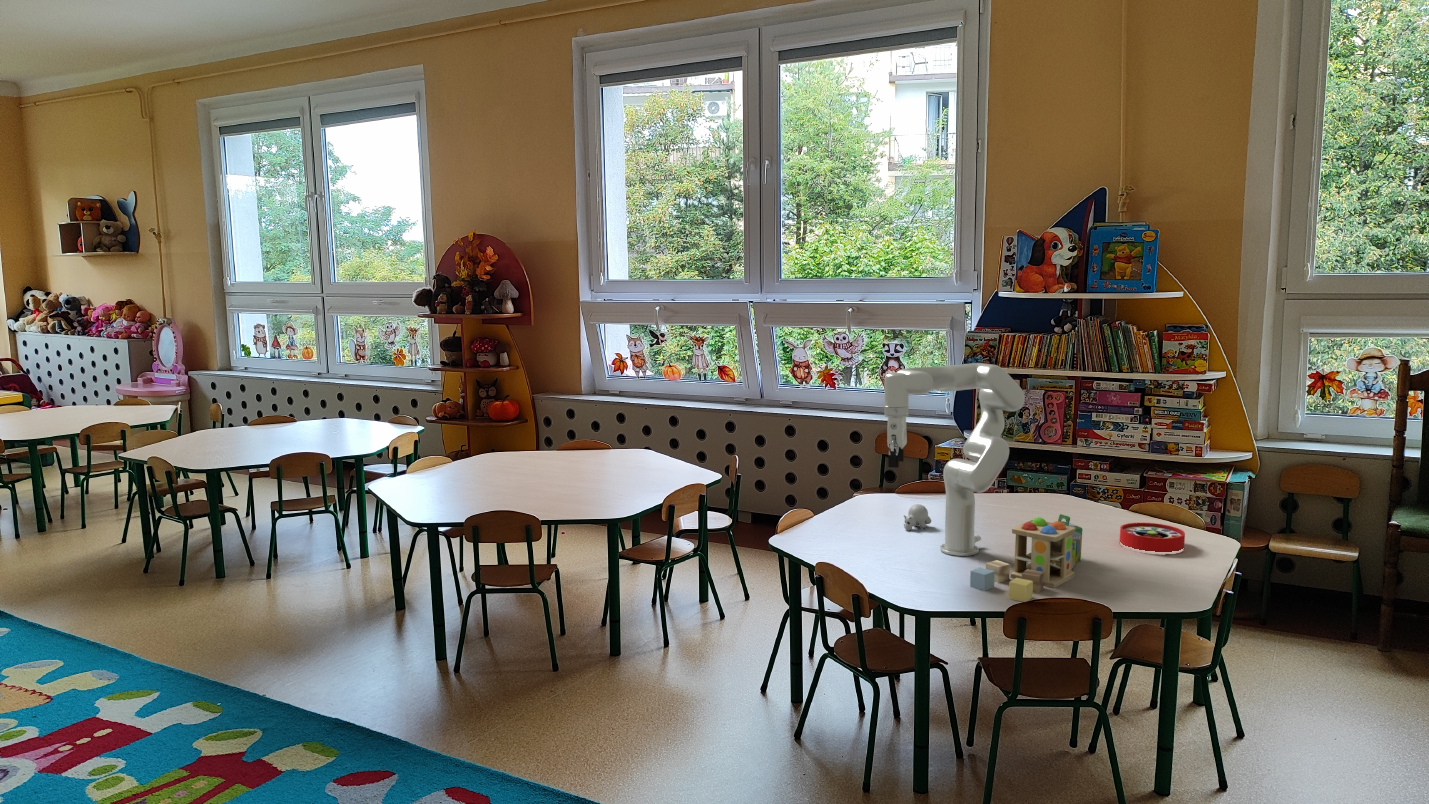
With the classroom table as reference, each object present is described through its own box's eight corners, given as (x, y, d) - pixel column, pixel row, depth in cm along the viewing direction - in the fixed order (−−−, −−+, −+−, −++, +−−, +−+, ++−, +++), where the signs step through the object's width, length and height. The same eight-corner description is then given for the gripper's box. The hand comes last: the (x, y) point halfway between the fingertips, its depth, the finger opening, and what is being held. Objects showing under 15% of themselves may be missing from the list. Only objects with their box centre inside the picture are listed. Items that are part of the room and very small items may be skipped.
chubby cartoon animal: (899, 535, 345) (893, 515, 342) (920, 518, 351) (914, 499, 348) (914, 539, 339) (908, 519, 336) (935, 521, 345) (929, 502, 342)
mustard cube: (1015, 594, 273) (1016, 577, 273) (1032, 597, 270) (1032, 581, 269) (1008, 598, 270) (1009, 582, 269) (1025, 602, 266) (1026, 585, 266)
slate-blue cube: (979, 583, 283) (980, 567, 282) (994, 587, 279) (994, 571, 279) (970, 586, 280) (970, 570, 279) (984, 591, 276) (984, 574, 276)
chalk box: (1039, 557, 307) (1041, 514, 305) (1061, 554, 310) (1063, 510, 308) (1059, 565, 298) (1061, 520, 296) (1082, 561, 302) (1083, 517, 299)
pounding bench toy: (1044, 561, 303) (1045, 507, 301) (1087, 570, 293) (1089, 515, 291) (1009, 578, 287) (1011, 521, 285) (1053, 588, 277) (1055, 530, 275)
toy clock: (1182, 541, 303) (1116, 533, 313) (1181, 559, 303) (1115, 550, 314) (1187, 526, 320) (1124, 519, 330) (1186, 543, 320) (1123, 535, 331)
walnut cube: (1026, 585, 281) (1027, 569, 280) (1043, 588, 278) (1043, 571, 277) (1021, 589, 277) (1021, 573, 276) (1038, 592, 274) (1039, 576, 273)
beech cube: (996, 575, 290) (997, 560, 289) (1009, 579, 286) (1009, 564, 285) (985, 578, 287) (985, 562, 287) (998, 582, 283) (998, 567, 282)
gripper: (904, 416, 287) (903, 470, 289) (912, 407, 303) (911, 459, 305) (879, 415, 289) (879, 469, 292) (889, 407, 305) (888, 458, 308)
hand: (896, 464), depth 298 cm, fingers open, 9 cm apart
